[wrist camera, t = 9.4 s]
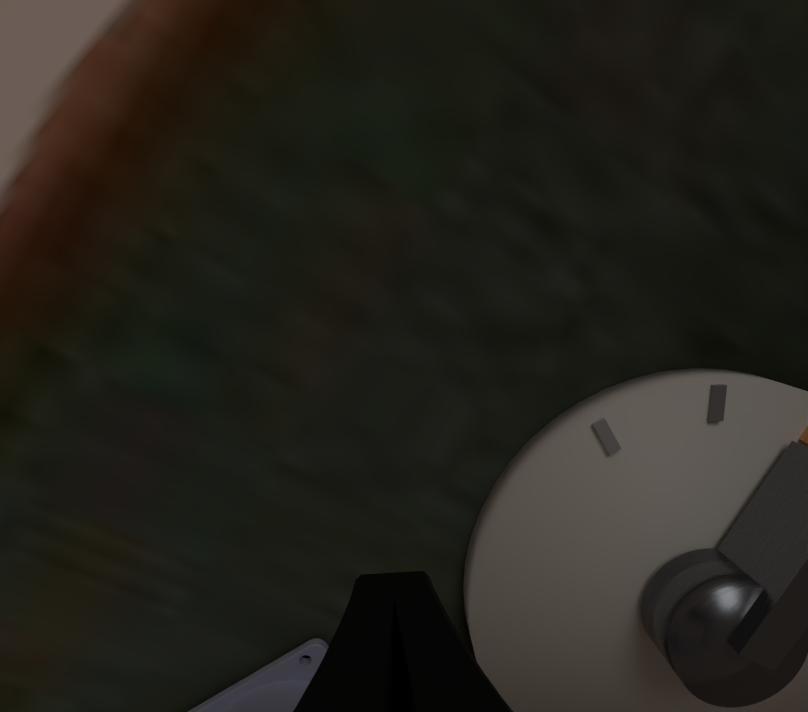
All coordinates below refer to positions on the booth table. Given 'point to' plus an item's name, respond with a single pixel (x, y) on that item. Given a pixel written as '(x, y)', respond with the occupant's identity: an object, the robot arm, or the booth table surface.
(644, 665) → the dial plate
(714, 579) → the dial pointer
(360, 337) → the booth table surface
